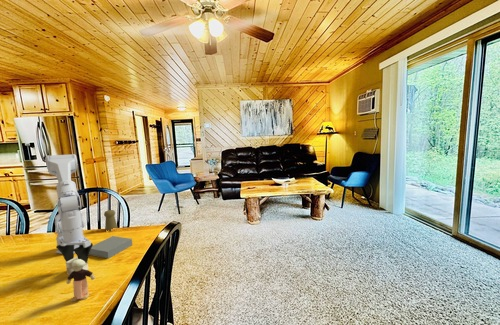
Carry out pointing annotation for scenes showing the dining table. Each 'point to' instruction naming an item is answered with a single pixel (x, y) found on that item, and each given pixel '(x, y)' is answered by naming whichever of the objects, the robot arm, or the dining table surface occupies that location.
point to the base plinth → (110, 247)
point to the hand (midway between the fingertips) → (76, 262)
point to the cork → (110, 220)
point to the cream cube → (70, 268)
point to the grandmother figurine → (79, 280)
